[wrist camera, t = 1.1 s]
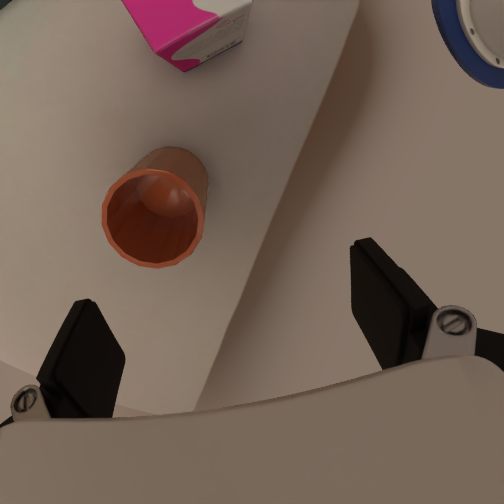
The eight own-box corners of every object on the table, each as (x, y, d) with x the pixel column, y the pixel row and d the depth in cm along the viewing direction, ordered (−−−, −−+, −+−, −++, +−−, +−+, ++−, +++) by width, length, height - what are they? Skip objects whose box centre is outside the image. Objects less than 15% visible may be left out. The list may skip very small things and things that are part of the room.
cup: (177, 131, 25) (158, 146, 17) (223, 191, 28) (225, 231, 20) (120, 177, 27) (82, 212, 19) (165, 232, 30) (147, 284, 22)
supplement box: (209, -9, 20) (205, -69, 9) (243, 42, 22) (260, 5, 12) (149, 23, 20) (107, -18, 10) (182, 74, 23) (156, 58, 13)
